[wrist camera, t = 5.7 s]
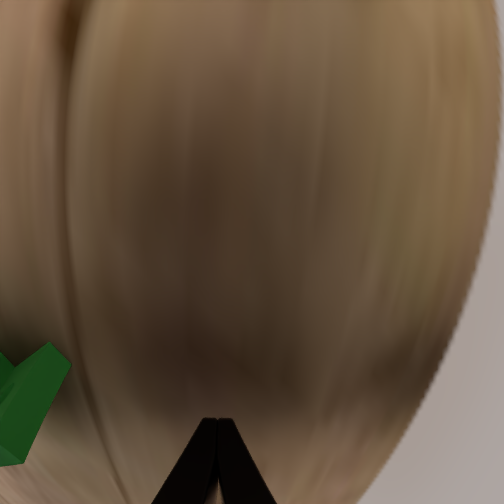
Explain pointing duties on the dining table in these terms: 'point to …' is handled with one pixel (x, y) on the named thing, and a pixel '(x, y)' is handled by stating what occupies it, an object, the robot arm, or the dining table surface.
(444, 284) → the dining table surface
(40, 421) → the pipe clamp
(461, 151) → the dining table surface
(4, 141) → the dining table surface
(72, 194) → the dining table surface
